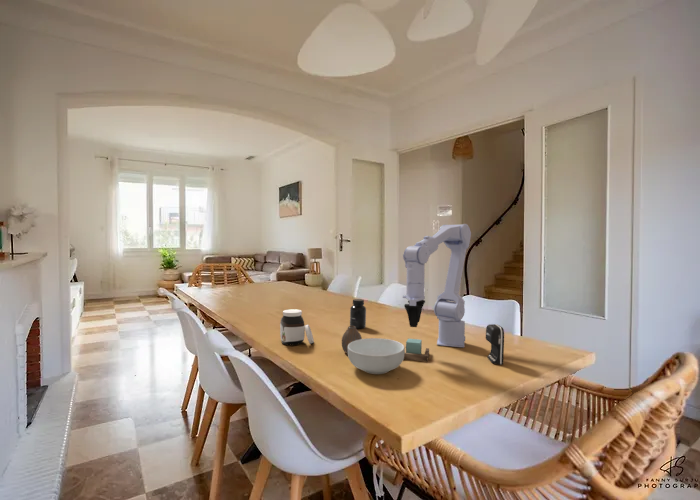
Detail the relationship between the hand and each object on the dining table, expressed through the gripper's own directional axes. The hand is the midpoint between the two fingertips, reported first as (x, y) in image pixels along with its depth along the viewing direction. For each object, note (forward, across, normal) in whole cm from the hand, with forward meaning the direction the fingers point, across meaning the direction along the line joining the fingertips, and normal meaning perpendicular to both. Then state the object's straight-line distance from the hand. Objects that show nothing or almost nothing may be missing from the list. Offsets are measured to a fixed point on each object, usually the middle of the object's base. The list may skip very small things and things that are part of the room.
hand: (414, 324), depth 118 cm
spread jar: (+11, -2, -42) cm, 44 cm away
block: (+10, 0, 0) cm, 11 cm away
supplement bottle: (+11, -31, -28) cm, 43 cm away
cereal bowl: (+11, +16, -10) cm, 21 cm away
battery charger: (+11, -2, +24) cm, 27 cm away
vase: (+11, +3, -20) cm, 23 cm away
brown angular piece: (+10, 0, -4) cm, 11 cm away
